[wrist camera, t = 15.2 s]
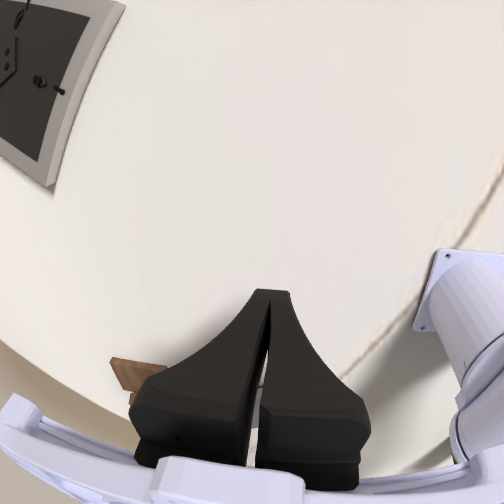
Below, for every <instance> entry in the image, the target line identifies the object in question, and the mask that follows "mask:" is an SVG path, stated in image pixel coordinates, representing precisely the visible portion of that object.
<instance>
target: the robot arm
mask: <svg viewBox="0 0 504 504" xmlns="http://www.w3.org/2000/svg"><path fill="white" fill-rule="evenodd" d="M447 254H449V255H448V256H447V257H445V256H446V255H447ZM422 326H423V327H422ZM412 328H413V331H414V332H437V333H438V336H439V338H440V340H441V342H442V344H443V347H444V349H445V351H446V353H447V356H448V358H449V360H450V363H451V365H452V368H453V370H454V372H455V375H456V377H457V380H458V382H459V385H460V388H461V391H460V392H459V394H458V395H457V396H456V397H455V400H456V403H457V406H458V409H459V411H458V412H457V413H456V414H455V415H454V416H453V418H452V420H451V423H450V427H449V437H450V445H451V450H452V453H453V456H454V458H455V460H456V462H457V463H458V464H455V465H451V466H447V467H442V468H437V469H432V470H427V471H421V472H415V473H409V474H402V475H395V476H386V477H376V478H364V479H359V468H358V464H359V463H360V461H361V456H360V451H361V449H362V448H363V446H364V445H365V443H366V442H367V440H368V438H369V436H370V434H371V425H370V420H369V416H368V413H367V409H366V407H365V404H364V401H363V399H362V398H361V397H359V396H358V395H357V394H355V393H354V392H353V391H352V390H350V389H349V388H348V387H347V386H346V385H344V384H343V383H342V382H341V381H340V380H339V379H338V378H337V377H336V376H335V374H334V373H333V372H332V371H331V370H330V369H329V368H328V367H327V365H326V364H325V363H324V362H323V361H322V359H321V358H320V357H319V355H318V354H317V353H316V351H315V350H314V348H313V347H312V345H311V343H310V342H309V340H308V338H307V337H306V335H305V333H304V331H303V329H302V327H301V325H300V323H299V321H298V318H297V316H296V314H295V311H294V308H293V305H292V302H291V298H290V293H289V292H288V291H283V290H269V289H256V290H255V291H254V293H253V294H252V296H251V298H250V299H249V301H248V302H247V303H246V305H245V306H244V307H243V309H242V310H241V311H240V312H239V314H238V315H237V316H236V317H235V318H234V320H233V321H232V322H231V323H230V324H229V325H228V326H227V327H226V328H225V329H224V330H223V331H222V332H221V333H220V334H219V335H218V336H217V337H216V338H214V339H213V340H212V341H211V342H210V343H208V344H207V345H206V346H204V347H203V348H202V349H200V350H199V351H198V352H196V353H195V354H193V355H192V356H190V357H188V358H187V359H185V360H183V361H181V362H180V363H178V364H176V365H174V366H172V367H170V368H168V369H166V370H163V371H161V372H159V373H156V374H154V375H151V376H149V377H147V378H146V380H145V381H144V383H143V384H142V386H141V387H140V389H139V390H138V392H137V394H136V396H135V398H134V400H133V402H132V404H131V406H130V409H129V413H128V414H129V417H130V420H131V422H132V424H133V425H134V427H135V429H136V431H137V433H138V434H139V436H140V438H141V439H140V442H139V444H138V447H137V449H136V451H135V452H133V451H130V450H126V449H123V448H120V447H117V446H114V445H112V444H109V443H105V442H103V441H100V440H98V439H95V438H92V437H90V436H88V435H85V434H83V433H80V432H78V431H75V430H73V429H71V428H68V427H66V426H64V425H62V424H59V423H57V422H55V421H53V420H51V419H49V418H47V417H45V416H43V415H42V413H41V411H40V410H39V409H38V407H37V406H36V405H34V404H33V403H32V402H31V401H29V400H27V399H25V398H23V397H21V396H19V395H18V394H16V393H13V394H12V396H11V397H10V399H9V400H8V402H7V403H6V404H5V406H4V407H3V409H2V410H1V412H0V449H2V450H3V451H4V452H5V453H6V454H7V455H8V456H9V457H10V458H11V459H12V460H14V461H15V462H16V463H17V464H18V465H20V466H21V467H23V468H24V469H26V470H27V471H29V472H30V473H32V474H33V475H35V476H37V477H38V478H40V479H41V480H43V481H45V482H46V483H48V484H50V485H51V486H53V487H55V488H56V489H58V490H60V491H62V492H63V493H65V494H67V495H69V496H71V497H72V498H74V499H76V500H78V501H80V502H82V503H84V504H504V254H498V253H488V252H478V251H467V250H457V249H446V248H441V249H439V250H438V251H437V253H436V255H435V259H434V262H433V266H432V269H431V273H430V276H429V279H428V282H427V285H426V289H425V292H424V295H423V298H422V301H421V303H420V306H419V309H418V312H417V315H416V317H415V320H414V323H413V325H412ZM267 350H268V361H267V367H266V373H265V378H264V384H263V389H262V394H261V399H260V406H259V426H258V442H257V449H256V456H255V468H249V467H246V462H247V455H248V448H249V441H250V434H251V428H252V421H253V414H254V407H255V400H256V395H257V390H258V387H259V383H260V379H261V375H262V371H263V367H264V362H265V358H266V354H267Z"/></svg>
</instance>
